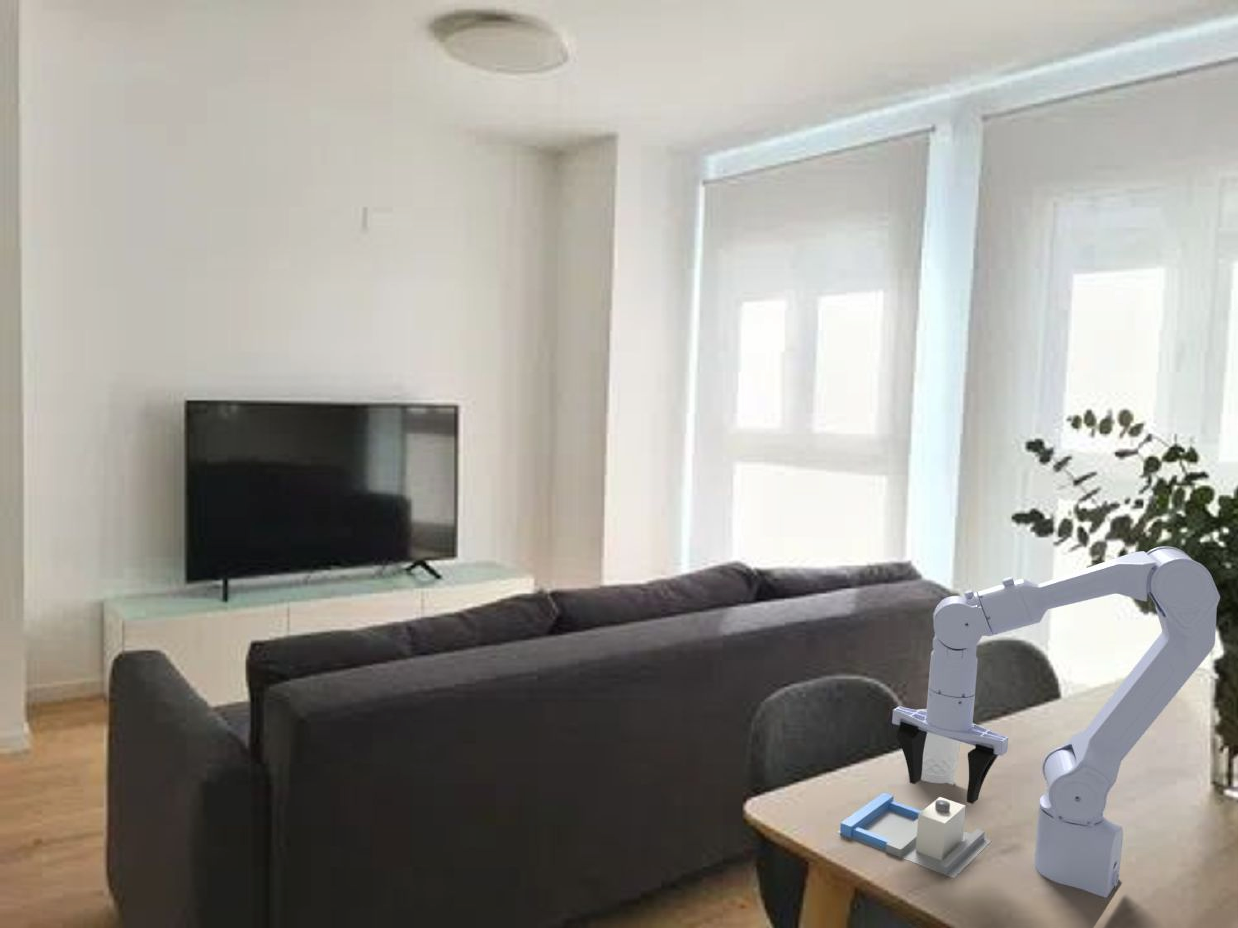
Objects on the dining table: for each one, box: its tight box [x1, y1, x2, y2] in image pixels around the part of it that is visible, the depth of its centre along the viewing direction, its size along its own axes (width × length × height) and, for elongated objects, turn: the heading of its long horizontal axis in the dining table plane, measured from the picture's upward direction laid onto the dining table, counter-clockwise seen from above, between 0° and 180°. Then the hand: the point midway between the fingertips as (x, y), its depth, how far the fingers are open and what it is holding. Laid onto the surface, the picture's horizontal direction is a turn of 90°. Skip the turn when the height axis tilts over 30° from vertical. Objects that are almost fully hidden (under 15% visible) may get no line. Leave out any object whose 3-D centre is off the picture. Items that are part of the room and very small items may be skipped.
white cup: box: [918, 708, 961, 786], centre depth 144 cm, size 8×8×10 cm
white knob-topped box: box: [916, 796, 967, 861], centre depth 122 cm, size 4×7×6 cm, turn 139°
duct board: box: [836, 792, 992, 879], centre depth 124 cm, size 16×13×2 cm
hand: (943, 790), depth 121 cm, fingers open, 7 cm apart
